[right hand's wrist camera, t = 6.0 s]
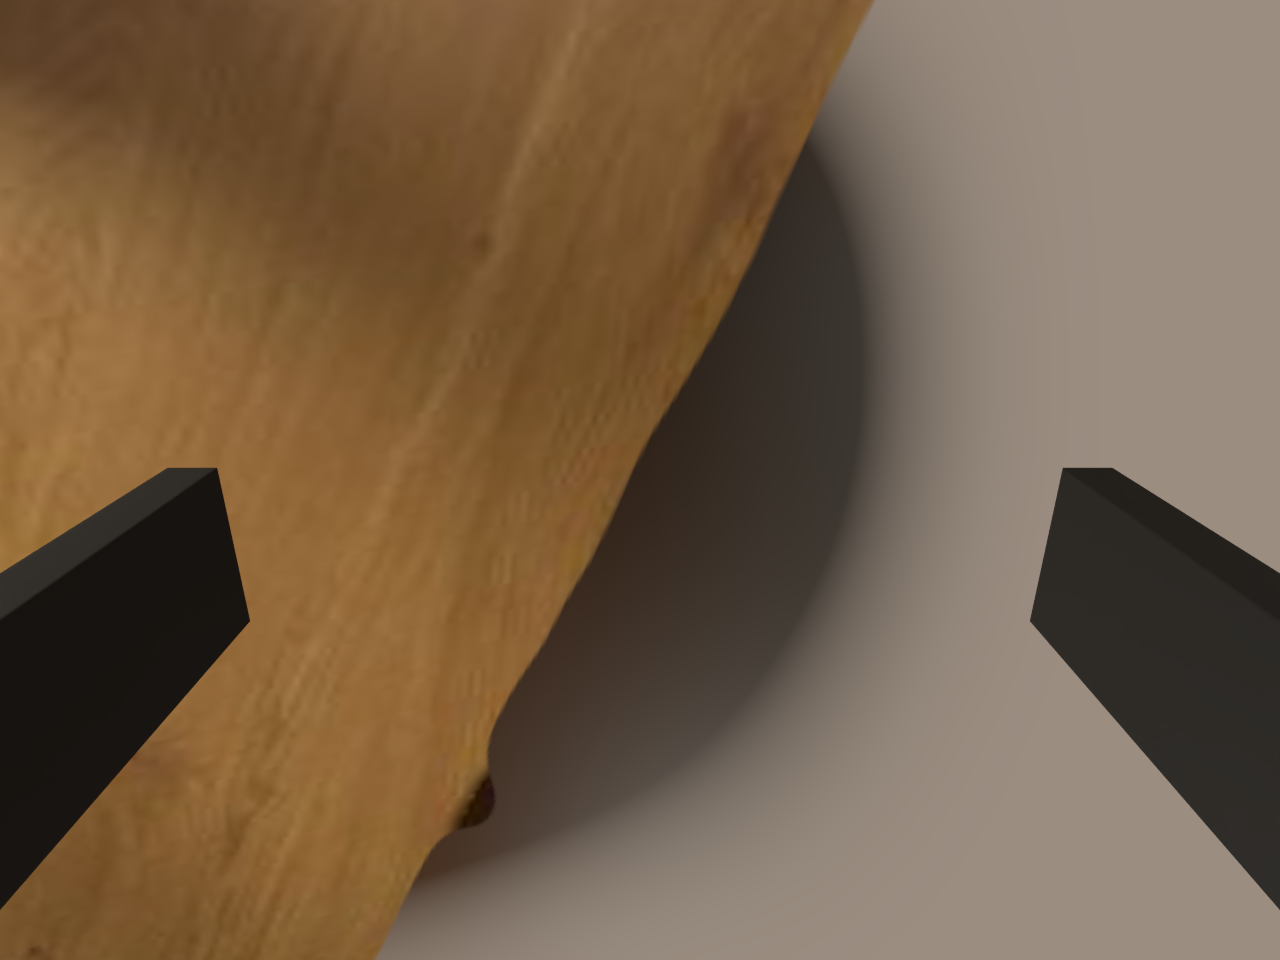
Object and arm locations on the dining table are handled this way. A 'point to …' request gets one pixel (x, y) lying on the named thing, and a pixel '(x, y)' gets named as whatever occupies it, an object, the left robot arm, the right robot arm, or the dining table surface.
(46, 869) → the dining table surface
